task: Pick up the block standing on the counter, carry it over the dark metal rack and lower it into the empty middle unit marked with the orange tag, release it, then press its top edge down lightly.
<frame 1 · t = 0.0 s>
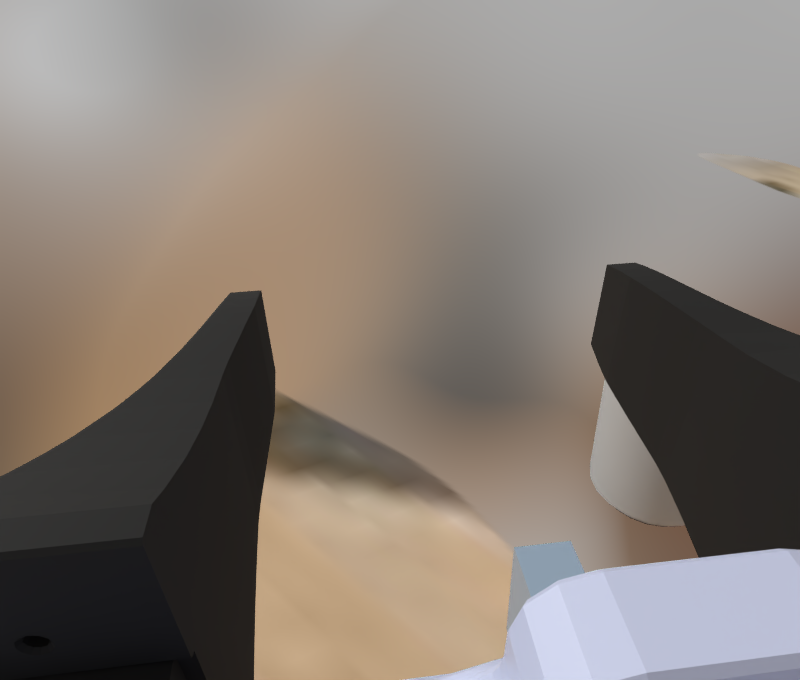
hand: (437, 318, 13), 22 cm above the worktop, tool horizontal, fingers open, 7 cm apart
can: (649, 492, 38), on the worktop
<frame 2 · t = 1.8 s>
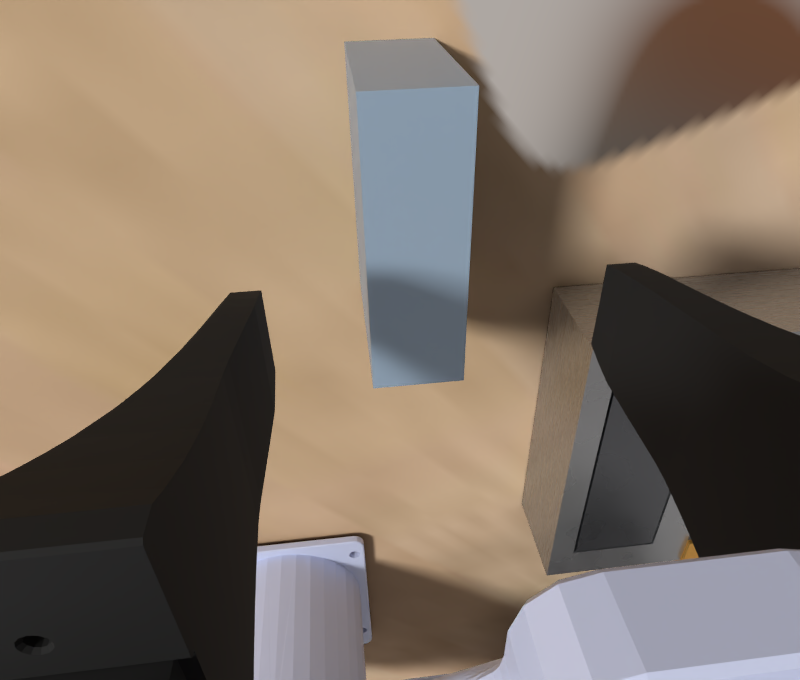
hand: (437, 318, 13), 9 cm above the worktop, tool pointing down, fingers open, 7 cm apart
block: (392, 173, 20), on the worktop
rack: (708, 394, 27), on the worktop
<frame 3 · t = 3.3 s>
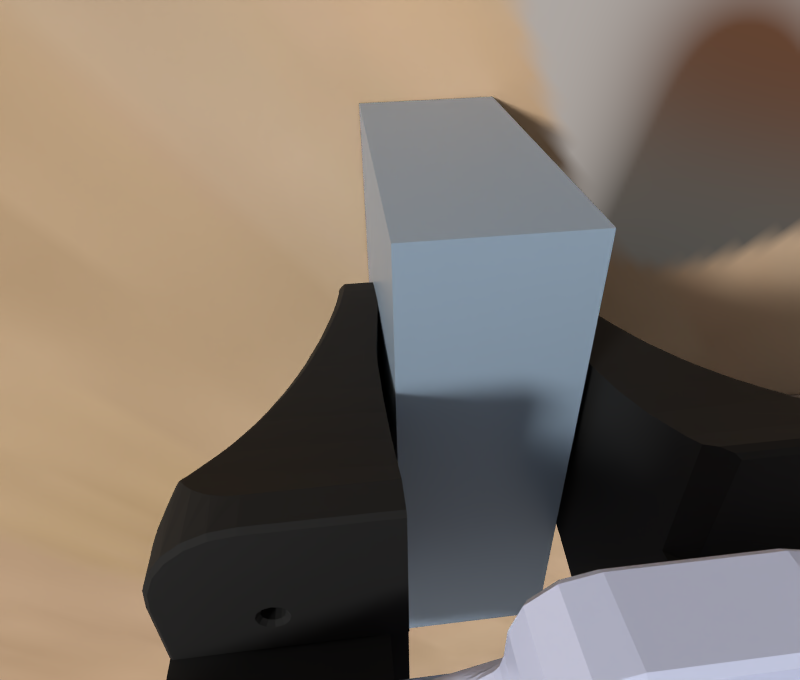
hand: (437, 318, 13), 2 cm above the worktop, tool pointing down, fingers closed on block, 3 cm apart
block: (425, 280, 14), on the worktop, touching gripper
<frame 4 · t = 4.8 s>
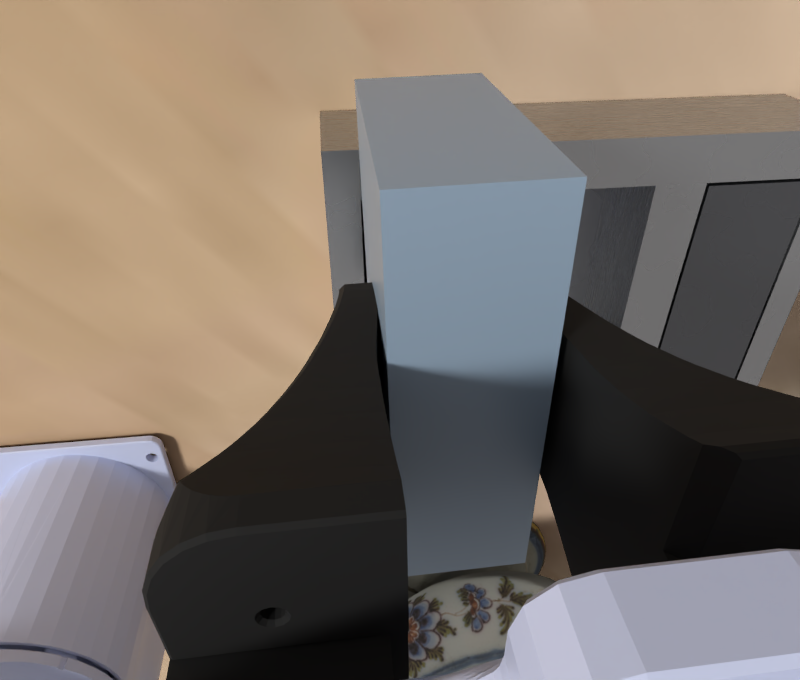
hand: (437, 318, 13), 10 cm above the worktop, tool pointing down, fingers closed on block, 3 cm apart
apothecary jar: (460, 558, 35), on the worktop
block: (419, 252, 15), point 7 cm above the worktop, touching gripper
rack: (537, 267, 24), on the worktop
when the fingers open (5 cm above the worktop, at t = 6.8 s): block stays where it is, resting on rack.
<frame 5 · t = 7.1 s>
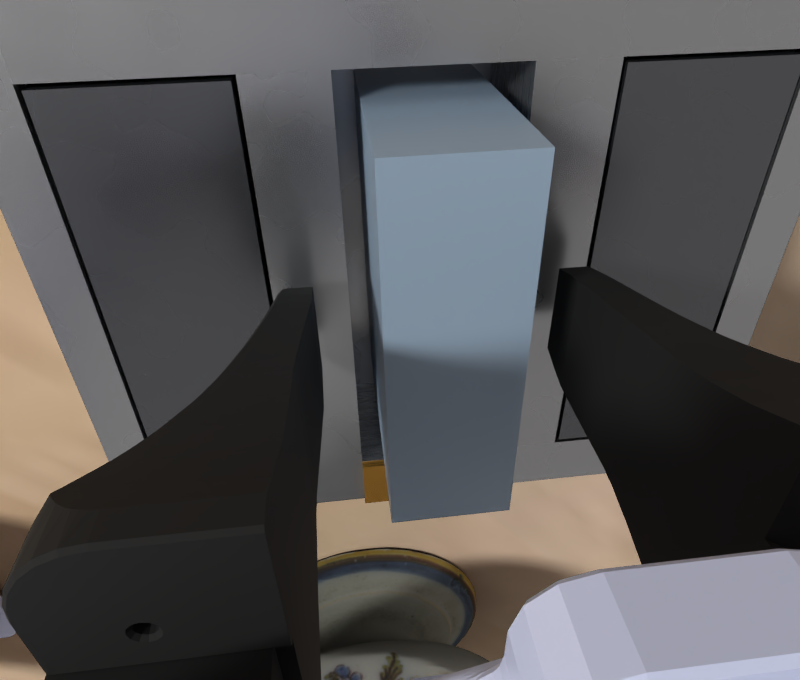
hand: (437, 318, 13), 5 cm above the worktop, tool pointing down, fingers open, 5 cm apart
apothecary jar: (369, 610, 28), on the worktop
block: (413, 230, 16), point 1 cm above the worktop, touching rack
rack: (409, 224, 17), on the worktop
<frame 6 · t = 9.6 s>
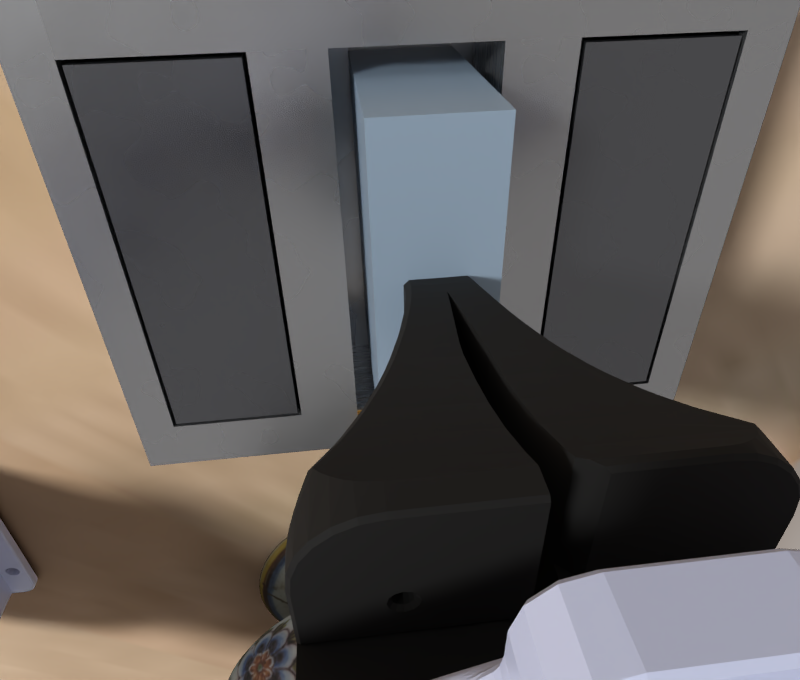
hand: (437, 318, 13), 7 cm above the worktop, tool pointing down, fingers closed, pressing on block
apothecary jar: (365, 571, 29), on the worktop
block: (403, 200, 17), point 1 cm above the worktop, touching gripper, rack
rack: (399, 195, 18), on the worktop
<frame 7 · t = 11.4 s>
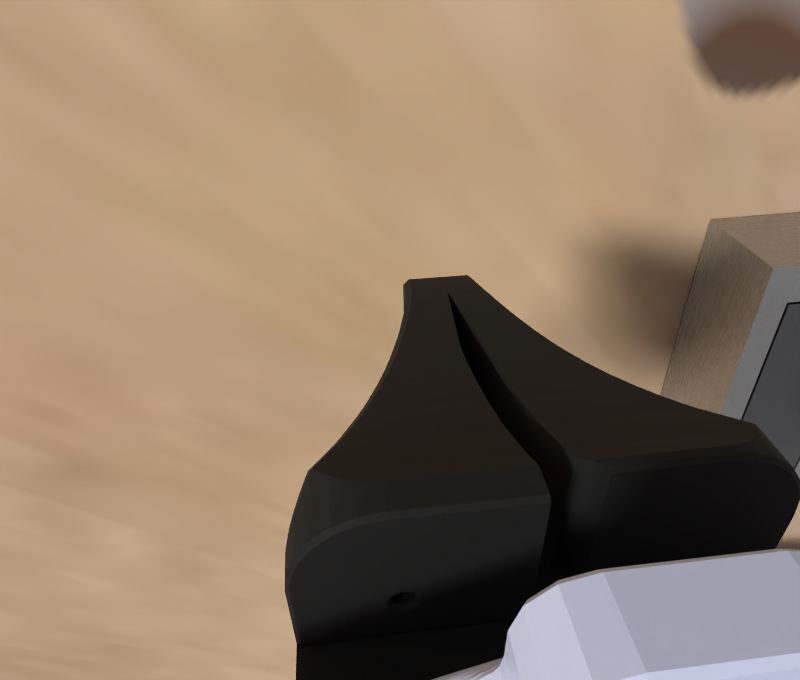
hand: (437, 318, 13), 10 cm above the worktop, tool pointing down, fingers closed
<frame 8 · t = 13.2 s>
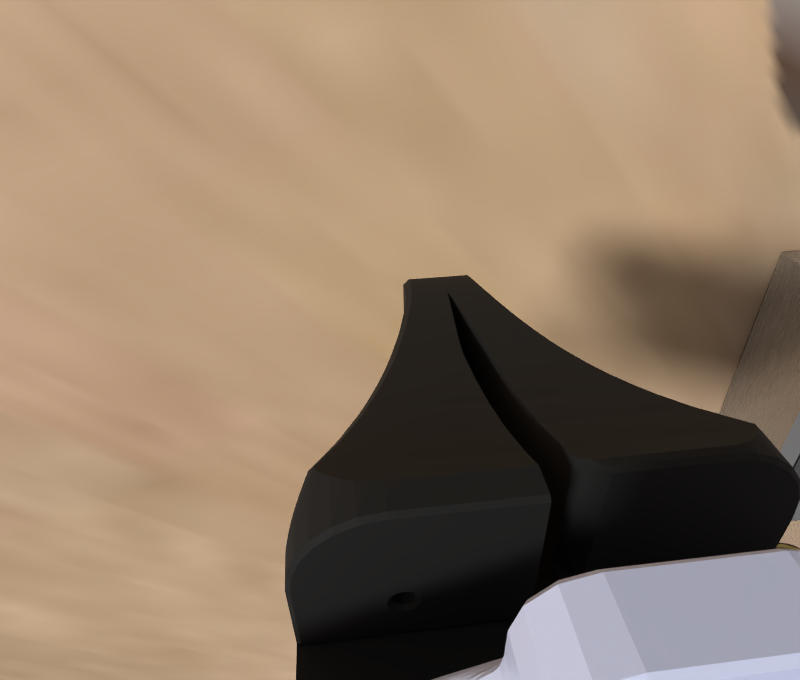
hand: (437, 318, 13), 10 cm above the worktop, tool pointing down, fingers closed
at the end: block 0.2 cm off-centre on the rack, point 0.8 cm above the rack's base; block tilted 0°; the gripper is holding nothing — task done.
